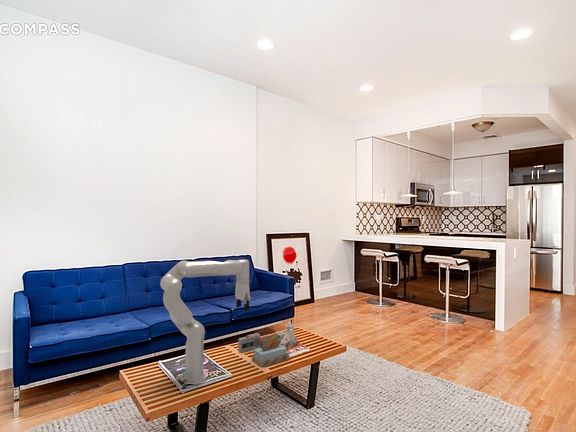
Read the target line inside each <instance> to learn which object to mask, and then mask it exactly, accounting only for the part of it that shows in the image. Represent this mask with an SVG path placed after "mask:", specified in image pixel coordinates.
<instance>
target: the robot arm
mask: <svg viewBox="0 0 576 432" xmlns="http://www.w3.org/2000/svg"><path fill="white" fill-rule="evenodd" d="M210 276H211V277H217V276H218V277H220V276H236V281H235V282H236V283H235V291H234V295H235V301H236V303H235V304H236V305H235V306H236V308H241V307H242V301H243V302H244V304H243V309H244V311H245V312H246V311H247V312H248V311H250V304H251V299H252V297H251V294H250V292H251V291H250V261H249V260H248V259H237V260H236V259H235V260H234V259H227V260H225V261H223V262H222V261H214V260H198V261H197V260H196V261H195V260H194V261H188V260H181V261H179V262H177V263H176V264H175V265H174V266H173V267H172V268H171V269H170V270H169V271H168V272H167V273H165V275H163V277H161V279H160V283H159V285H160V288H161V289H162V290H163V291H164V292H163V296H162V301H163V305H164V306H165V308H166V310H167V311H168V313H169V317H170V320H171V321H172V322H173V324H174V325H175V327H177V329H178V330H179V331H180V332H181V333H182V335H184V336H186V342H185V371H183V373H182V374H181V375H177V376H175V377H176V381H179V380H180V381H181V382H182V383H183V382H184V383H183V384H185V383H186V384H185V385H187V384H196V385H199V384H198V383H200V384H202V383H204V382H205V381H206V380H207V375H206V374H205V373H204V345H205V344H204V341H205V335H206V330H205V327H204V325H203V324H202V323H201V322H199V321H197V320H196V319H195V318H194V317H193V313H192V311H191V310H190V309H189V308H188V306H187V305H186V304H185V303H184V301H183V299H181V296H180V295H181V290H182V287H183V283H182V280H183V278H197V277H198V278H199V277H210ZM203 381H204V382H203ZM201 382H202V383H201Z"/></svg>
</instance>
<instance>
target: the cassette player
mask: <svg viewBox="0 0 576 432" xmlns="http://www.w3.org/2000/svg"><path fill="white" fill-rule="evenodd" d="M261 338H262V337H261V334H260V333H258V332H256V333H253V334H251V333H250V334H247V335H245V336H244V337H239V338H238V339H237V340H238V347H237V348H238V353H239V354H244V353H247V352H251V351H254V349H258V348H260V346H259V341H260V339H261Z"/></svg>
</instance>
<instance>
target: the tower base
mask: <svg viewBox="0 0 576 432" xmlns="http://www.w3.org/2000/svg"><path fill="white" fill-rule="evenodd" d="M287 361H290V354H289V353H287V355H284V356H280V357H276V358H273V359H269V360H265V361H261V360H259V359H258V358H256V357H255V356H254V355H252V356H251V362H253V363H254V364H255V365H257V366H259V367H260V368H262V369H263V368H266V367H269V366H273V365H276V364H280V363H282V362H287Z"/></svg>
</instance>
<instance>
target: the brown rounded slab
mask: <svg viewBox="0 0 576 432" xmlns="http://www.w3.org/2000/svg"><path fill="white" fill-rule="evenodd" d="M280 342H281V339H280V336H279V335H278V334H274V333H272V334H267V335H263V336H262V337H261V339H260V341H259V346H260V348H261V349H262V350H265V351H267V350H270V349H273V348H276V347H278V346H279V345H280Z"/></svg>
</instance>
